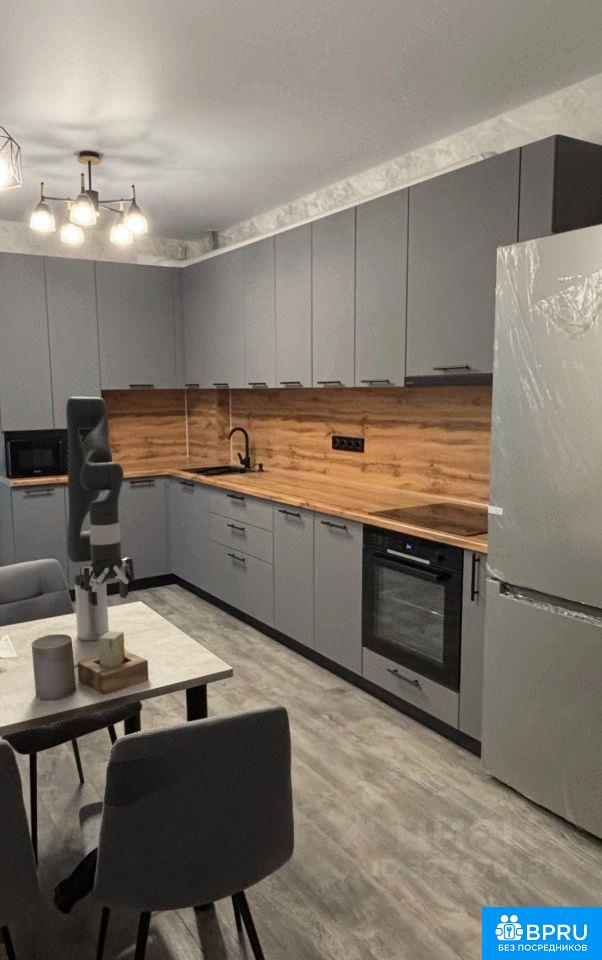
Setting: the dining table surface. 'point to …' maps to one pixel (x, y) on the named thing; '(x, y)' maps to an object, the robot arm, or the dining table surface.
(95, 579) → the robot arm
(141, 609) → the dining table surface
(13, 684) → the dining table surface
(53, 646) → the pillar candle
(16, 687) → the dining table surface
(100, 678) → the socket block
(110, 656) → the skincare box
